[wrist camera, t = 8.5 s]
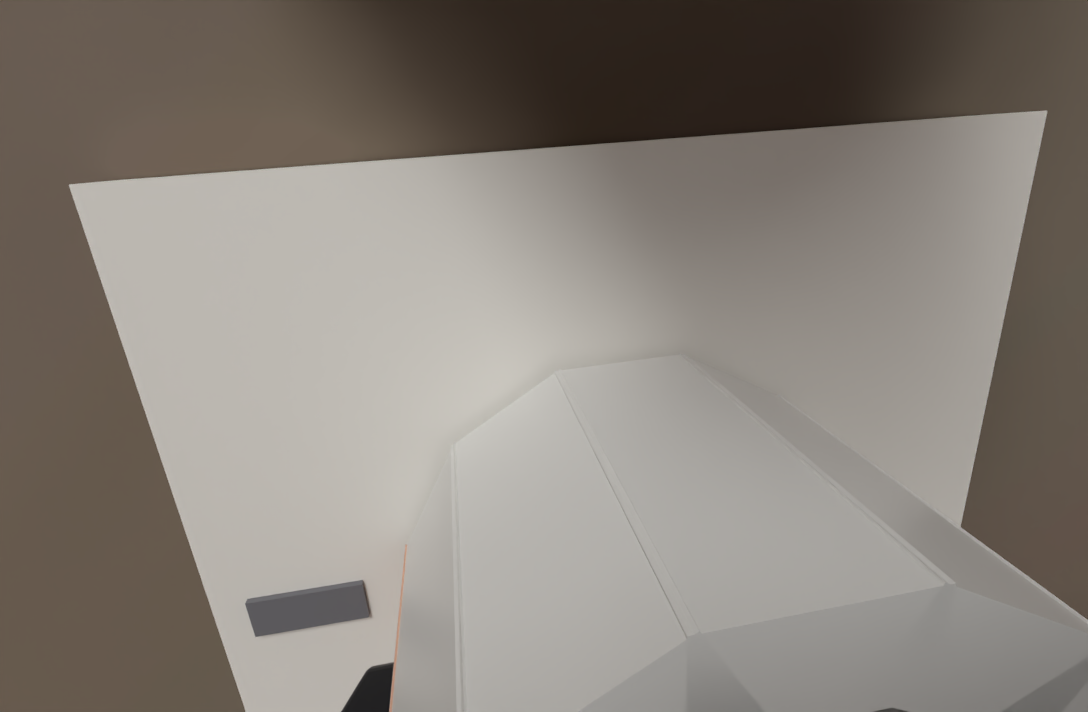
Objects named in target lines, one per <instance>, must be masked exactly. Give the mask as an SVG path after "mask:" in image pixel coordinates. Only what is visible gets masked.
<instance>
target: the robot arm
mask: <svg viewBox="0 0 1088 712" xmlns="http://www.w3.org/2000/svg"><path fill="white" fill-rule="evenodd" d="M393 666H394V662H391V663H386V664H381V665H375V666H372V667H370V668H369V669H368V670H367V671H366V672H365V674H364V675H363V677H362V678H361V680H360V682H359V683H358V685H357V687H356V688H355V690H354V691H353V693H352V695H351V696H350V698H349V700H348V701H347V703H346V704H345V706H344V708H343V709H342V711H341V712H389V707H390V696H391V686H392V676H393Z"/></svg>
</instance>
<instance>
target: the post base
mask: <svg viewBox="0 0 1088 712" xmlns="http://www.w3.org/2000/svg"><path fill="white" fill-rule="evenodd" d="M1046 115H1047V111H1033V112H1018V113H1003V114H988V115H974V116H961V117H947V118H934V119H921V120H908V121H894V122H881V123H868V124H855V125H841V126H828V127H815V128H802V129H788V130H775V131H762V132H749V133H735V134H722V135H709V136H696V137H683V138H669V139H656V140H643V141H630V142H616V143H603V144H590V145H577V146H563V147H550V148H537V149H524V150H510V151H497V152H484V153H471V154H457V155H444V156H431V157H418V158H404V159H391V160H378V161H365V162H351V163H338V164H325V165H312V166H298V167H285V168H272V169H259V170H245V171H232V172H219V173H206V174H193V175H179V176H166V177H153V178H140V179H126V180H114V181H103V182H92V183H81V184H70V185H69V187H70V190H71V193H72V196H73V199H74V202H75V205H76V208H77V211H78V214H79V217H80V220H81V223H82V226H83V229H84V231H85V234H86V237H87V240H88V243H89V246H90V249H91V252H92V255H93V258H94V261H95V264H96V267H97V270H98V273H99V276H100V279H101V282H102V285H103V288H104V291H105V294H106V297H107V300H108V303H109V306H110V309H111V312H112V315H113V318H114V321H115V324H116V327H117V330H118V333H119V336H120V339H121V342H122V345H123V348H124V351H125V353H126V356H127V359H128V362H129V365H130V368H131V371H132V374H133V377H134V380H135V383H136V386H137V389H138V392H139V395H140V398H141V401H142V404H143V407H144V410H145V413H146V416H147V419H148V422H149V425H150V428H151V431H152V434H153V437H154V440H155V443H156V446H157V449H158V452H159V455H160V458H161V461H162V464H163V467H164V470H165V473H166V475H167V478H168V481H169V484H170V487H171V490H172V493H173V496H174V499H175V502H176V505H177V508H178V511H179V514H180V517H181V520H182V523H183V526H184V529H185V532H186V535H187V538H188V541H189V544H190V547H191V550H192V553H193V556H194V559H195V562H196V565H197V568H198V571H199V574H200V577H201V580H202V583H203V586H204V589H205V592H206V595H207V597H208V600H209V603H210V606H211V609H212V612H213V615H214V618H215V621H216V624H217V627H218V630H219V633H220V636H221V639H222V642H223V645H224V648H225V651H226V654H227V657H228V660H229V663H230V666H231V669H232V672H233V675H234V678H235V681H236V684H237V687H238V690H239V693H240V696H241V699H242V702H243V705H244V708H245V711H246V712H341V711H342V709H343V708H344V706H345V704H346V703H347V701H348V700H349V698H350V696H351V695H352V693H353V691H354V690H355V688H356V687H357V685H358V683H359V682H360V680H361V678H362V677H363V675H364V674H365V672H366V671H367V670H368V669H369V668H370V667H372V666H375V665H381V664H386V663H391V662H394V655H395V645H396V635H397V624H398V614H399V604H400V594H401V583H402V573H403V563H404V552H405V545H406V544H408V541H409V539H410V537H411V535H412V533H413V531H414V528H415V526H416V524H417V522H418V520H419V518H420V515H421V513H422V511H423V509H424V507H425V505H426V502H427V500H428V498H429V496H430V494H431V492H432V489H433V487H434V485H435V483H436V481H437V479H438V476H439V474H440V472H441V470H442V468H443V466H444V463H445V461H446V459H447V457H448V455H449V453H450V450H451V446H452V445H453V444H454V442H455V443H456V442H458V441H459V440H461V439H462V438H463V437H465V436H466V435H468V434H469V433H471V432H472V431H473V430H475V429H476V428H478V427H479V426H480V425H482V424H483V423H485V422H486V421H487V420H489V419H490V418H492V417H493V416H494V415H496V414H497V413H499V412H500V411H502V410H503V409H504V408H506V407H507V406H509V405H510V404H511V403H513V402H514V401H516V400H517V399H518V398H520V397H521V396H523V395H524V394H526V393H527V392H528V391H530V390H531V389H533V388H534V387H535V386H537V385H538V384H540V383H541V382H542V381H544V380H545V379H547V378H548V377H549V376H551V375H552V374H554V371H558V370H559V369H560V370H567V369H575V368H582V367H590V366H597V365H605V364H612V363H619V362H627V361H634V360H642V359H649V358H657V357H664V356H672V355H678V354H679V353H680V354H686V355H687V356H688V357H689V358H692V359H694V360H696V361H699V362H701V363H703V364H705V365H708V366H710V367H712V368H715V369H717V370H719V371H722V372H724V373H726V374H729V375H731V376H733V377H735V378H738V379H740V380H742V381H745V382H747V383H749V384H752V385H754V386H756V387H759V388H761V389H763V390H766V391H768V392H770V393H772V394H775V395H777V396H778V395H780V396H781V397H783V398H784V399H786V400H787V401H788V402H790V403H791V404H792V405H794V406H795V407H796V408H798V409H799V410H801V411H802V412H803V413H805V414H806V415H807V416H809V417H810V418H812V419H813V420H814V421H816V422H817V423H818V424H820V425H821V426H823V427H824V428H825V429H827V430H828V431H829V432H831V433H832V434H833V435H835V436H836V437H838V438H839V439H840V440H842V441H843V442H844V443H846V444H847V445H849V446H850V447H851V448H853V449H854V450H855V451H857V452H858V453H860V454H861V455H862V456H864V457H865V458H866V459H868V460H869V461H871V462H872V463H873V464H875V465H876V466H877V467H879V468H880V469H881V470H883V471H884V472H886V473H887V474H888V475H890V476H891V477H892V478H894V479H895V480H897V481H898V482H899V483H901V484H902V485H903V486H905V487H906V488H908V489H909V490H910V491H912V492H913V493H914V494H916V495H917V496H918V497H920V498H921V499H923V500H924V501H925V502H927V503H928V504H929V505H931V506H932V507H934V508H935V509H936V510H938V511H939V512H940V513H942V514H943V515H945V516H946V517H947V518H949V519H950V520H951V521H953V522H954V523H956V524H957V525H958V526H960V527H961V522H962V517H963V513H964V508H965V503H966V498H967V493H968V489H969V484H970V479H971V474H972V469H973V465H974V460H975V455H976V450H977V446H978V441H979V436H980V431H981V426H982V422H983V417H984V412H985V407H986V402H987V398H988V393H989V388H990V383H991V379H992V374H993V369H994V364H995V359H996V355H997V350H998V345H999V340H1000V335H1001V331H1002V326H1003V321H1004V316H1005V312H1006V307H1007V302H1008V297H1009V292H1010V288H1011V283H1012V278H1013V273H1014V268H1015V264H1016V259H1017V254H1018V249H1019V245H1020V240H1021V235H1022V230H1023V225H1024V221H1025V216H1026V211H1027V206H1028V201H1029V197H1030V192H1031V187H1032V182H1033V178H1034V173H1035V168H1036V163H1037V158H1038V154H1039V149H1040V144H1041V139H1042V134H1043V130H1044V125H1045V120H1046Z"/></svg>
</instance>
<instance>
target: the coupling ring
mask: <svg viewBox="0 0 1088 712" xmlns="http://www.w3.org/2000/svg"><path fill="white" fill-rule="evenodd" d="M389 712H1088V620H1087V619H1086V618H1084V617H1083V616H1082V615H1080V614H1079V613H1078V612H1076V611H1075V610H1073V609H1072V608H1071V607H1069V606H1068V605H1067V604H1065V603H1064V602H1062V601H1061V600H1060V599H1058V598H1057V597H1056V596H1054V595H1053V594H1051V593H1050V592H1049V591H1047V590H1046V589H1045V588H1043V587H1042V586H1041V585H1039V584H1038V583H1036V582H1035V581H1034V580H1032V579H1031V578H1030V577H1028V576H1027V575H1025V574H1024V573H1023V572H1021V571H1020V570H1019V569H1017V568H1016V567H1014V566H1013V565H1012V564H1010V563H1009V562H1008V561H1006V560H1005V559H1003V558H1002V557H1001V556H999V555H998V554H997V553H995V552H994V551H993V550H991V549H990V548H988V547H987V546H986V545H984V544H983V543H982V542H980V541H979V540H977V539H976V538H975V537H973V536H972V535H971V534H969V533H968V532H966V531H965V530H964V529H962V528H961V527H960V526H958V525H957V524H956V523H954V522H953V521H951V520H950V519H949V518H947V517H946V516H945V515H943V514H942V513H940V512H939V511H938V510H936V509H935V508H934V507H932V506H931V505H929V504H928V503H927V502H925V501H924V500H923V499H921V498H920V497H918V496H917V495H916V494H914V493H913V492H912V491H910V490H909V489H908V488H906V487H905V486H903V485H902V484H901V483H899V482H898V481H897V480H895V479H894V478H892V477H891V476H890V475H888V474H887V473H886V472H884V471H883V470H881V469H880V468H879V467H877V466H876V465H875V464H873V463H872V462H871V461H869V460H868V459H866V458H865V457H864V456H862V455H861V454H860V453H858V452H857V451H855V450H854V449H853V448H851V447H850V446H849V445H847V444H846V443H844V442H843V441H842V440H840V439H839V438H838V437H836V436H835V435H833V434H832V433H831V432H829V431H828V430H827V429H825V428H824V427H823V426H821V425H820V424H818V423H817V422H816V421H814V420H813V419H812V418H810V417H809V416H807V415H806V414H805V413H803V412H802V411H801V410H799V409H798V408H796V407H795V406H794V405H792V404H791V403H790V402H788V401H787V400H786V399H784V398H783V397H781V396H780V395H778V396H777V395H775V394H772V393H770V392H768V391H766V390H763V389H761V388H759V387H756V386H754V385H752V384H749V383H747V382H745V381H742V380H740V379H738V378H735V377H733V376H731V375H729V374H726V373H724V372H722V371H719V370H717V369H715V368H712V367H710V366H708V365H705V364H703V363H701V362H699V361H696V360H694V359H692V358H689V357H688V356H687V355H686V354H680V353H679V354H678V355H672V356H664V357H657V358H649V359H642V360H634V361H627V362H619V363H612V364H605V365H597V366H590V367H582V368H575V369H567V370H560V369H559V370H558V371H554V374H552V375H551V376H549V377H548V378H547V379H545V380H544V381H542V382H541V383H540V384H538V385H537V386H535V387H534V388H533V389H531V390H530V391H528V392H527V393H526V394H524V395H523V396H521V397H520V398H518V399H517V400H516V401H514V402H513V403H511V404H510V405H509V406H507V407H506V408H504V409H503V410H502V411H500V412H499V413H497V414H496V415H494V416H493V417H492V418H490V419H489V420H487V421H486V422H485V423H483V424H482V425H480V426H479V427H478V428H476V429H475V430H473V431H472V432H471V433H469V434H468V435H466V436H465V437H463V438H462V439H461V440H459V441H458V442H456V443H455V442H454V444H453V445H452V446H451V450H450V453H449V455H448V457H447V459H446V461H445V463H444V466H443V468H442V470H441V472H440V474H439V476H438V479H437V481H436V483H435V485H434V487H433V489H432V492H431V494H430V496H429V498H428V500H427V502H426V505H425V507H424V509H423V511H422V513H421V515H420V518H419V520H418V522H417V524H416V526H415V528H414V531H413V533H412V535H411V537H410V539H409V541H408V544H406V545H405V552H404V563H403V573H402V583H401V594H400V604H399V614H398V624H397V635H396V645H395V655H394V666H393V676H392V686H391V696H390V707H389Z"/></svg>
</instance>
